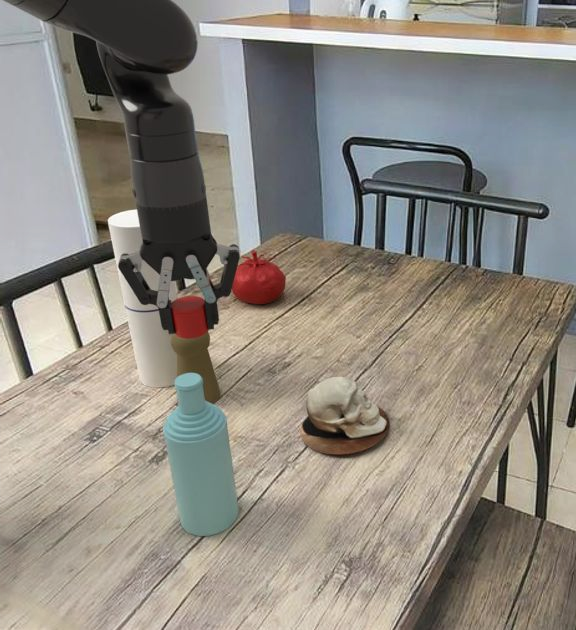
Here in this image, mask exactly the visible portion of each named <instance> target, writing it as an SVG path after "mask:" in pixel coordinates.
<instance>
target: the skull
mask: <svg viewBox="0 0 576 630" xmlns="http://www.w3.org/2000/svg"><path fill="white" fill-rule="evenodd" d="M306 413H307V417H306V418H305V419H304V420H303V422H302V423H301V426H300V430H299V431H300V432H299V434H300V437H301V440H302V441H303V443H304V444H305V445H306V446H307V447H309V448H310V449H312V450H314V451H316V452H320V453H322V454H327V455H348V454H354V453H360V452H362V451H365V450H367V449H369V448H372V447H373V446H374V445H376V444H378V443H379V442H380V441H381V440H382V439H384V438H385V436H386V435H387V434H388V431H389V429H390V426H391V425H390V424H391V423H390V422H391V421H390V418H389V416H388V414H387V412H386V411H385V410H384V409H383V408H381V407H380V406H378V405H376V404H374V403H373V402H372V401H371V400H370V399H369V398H368V396H367V394H366V391H364V390H363V389H360V388H358V382H357V381H355V380H352V379H350V378H348V377H345V376H339V375H338V376H337V375H336V376H332V377H328V378H326V379H324V380H322V381H320V382H319V383H317V384H316V385H314V386H313V388H311V389H310V390H309V391H308V393H307V398H306Z"/></svg>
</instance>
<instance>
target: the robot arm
mask: <svg viewBox="0 0 576 630" xmlns="http://www.w3.org/2000/svg"><path fill="white" fill-rule="evenodd" d="M2 1H3V2H5V3H6V4H8V5H11V6H13V7H14V8H16V9H19V10H20V11H23V12H24V13H26V14H28V15H30V16H33V17H34V18H35V19H38V20H40V21H41V22H44V23H45V24H48V25H50V26H52V27H54V28H57V29H60V30H63V31H66V32H69V33H74V34H77V35H80V36H84V37H87V38H89V39H91V40H93V41H95V43H96V49H97V53H98V56H99V59H100V63H101V65H102V68H103V71H104V73H105V76H106V78H107V81H108V84H109V86H110V89H111V91H112V95H113V97H114V98H115V101H116V102H117V105H118V107H119V109H120V112H121V114H122V117H123V124H124V131H125V138H126V142H127V150H128V154H129V161H130V179H131V184H132V188H131V192H132V196H133V198H134V201H135V208H136V210H137V213H138V219H139V224H140V230H141V235H142V245H141V248H140V250H139V251H137V252H134V253H132V254H127V253H124V254H122V255H121V256H120V259H119V264H118V268H119V269H120V271H121V273H122V274H123V276H124V277H125V279H126V281H127V282H128V284H129V286H130V287H131V289H132V290H133V292H134V294H135V295H136V297H137V298H138V300H139V302H140V303H141V304H142V305H148V304H152V305H155V306H157V307H158V309H159V315H160V320H161V326H162V328H163V330H168V332H169V334H175V329H174V323H173V317H172V312H171V303H172V302H171V300H169V290H170V283H171V281H175V282H177V281H180V280H183V279H185V280H195V282H196V284H197V287H198V288H199V289H200V291H201V294H202V296H203V299H204V300H205V311H206V318H207V325H208V330H210V331H211V330H215V326H216V325H219V322H220V314H219V307H218V300H219V299H221V298H223V297H224V298H227V297H229V296H231V293H232V286H233V282H234V278H235V274H236V270H237V268H238V267H237V266H238V265H239V262H240V258H241V255H240V247H239V246H238V245H237V244H236V243H232V244H230V245H229V246H228V245H223V244H219V243H217V240H216V239H215V238H214V236H213V234H212V229H211V222H210V214H209V207H208V206H209V205H208V197H207V189H206V188H207V186H206V183H205V176H204V171H203V166H202V162H201V159H200V155H199V149H198V142H197V141H198V140H197V133H196V126H195V119H194V114H193V109H192V107H191V105H190V103H189V101H187V100H186V99H185V98H184V97H182V96H180V95H179V94H178V93H177V92H176V91H175V90H174V89H173V87H172V84H171V81H170V77H169V75H174V74H178V73H179V72H180V73H181V72H182V71H184V70H185V69H187V68H188V67H189V66H190V65H191V63H192V62H193V61H194V59H195V57H196V56H197V51H198V44H199V42H198V35H197V31H196V27H195V25H194V23H193V22H192V20H191V18H190V17H189V15H188V14H187V13H186V11H185V10H184V9H182V7H180V5H179V4H177V3H176V2H175V1H173V0H2ZM216 255H218V256H219V262H220V263H221V264H222V265H223V268H222V272H221V277H220V281H219V282H218V283H216V284H214V283H213V281H212V278H211V275H210V273H209V271H208V267H209V265H210V264H211V263H212V261H213V259H214V257H215V256H216ZM142 260H144V261H145V262H146V263H147V264H148V265H149V266H150V267H151V268H153V269H154V270H155V271H156V272H157V273H158V274H159V275H160V280H159V288H158V291H155V290H151V289H150V287H149V285H148V284H147V282H146V280H145V279H144V277H143V275H142V274H141V272H140V271H141V267H142V264H141V261H142Z"/></svg>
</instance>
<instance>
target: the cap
mask: <svg viewBox="0 0 576 630" xmlns="http://www.w3.org/2000/svg"><path fill="white" fill-rule="evenodd" d="M171 312H172V317H173V323H174V329H175V334H176V335H177V336H178V337H180V338H185V339H191V338H197V337H200V336H202V335H204V334H206V333H207V332H208V333H209V330H208V325H207V318H206V311H205V298H204V297H201V296H198V295H197V296H196V295H187V296H182V297H178V299H176V300H174V301H173V302H172V303H171Z"/></svg>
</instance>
